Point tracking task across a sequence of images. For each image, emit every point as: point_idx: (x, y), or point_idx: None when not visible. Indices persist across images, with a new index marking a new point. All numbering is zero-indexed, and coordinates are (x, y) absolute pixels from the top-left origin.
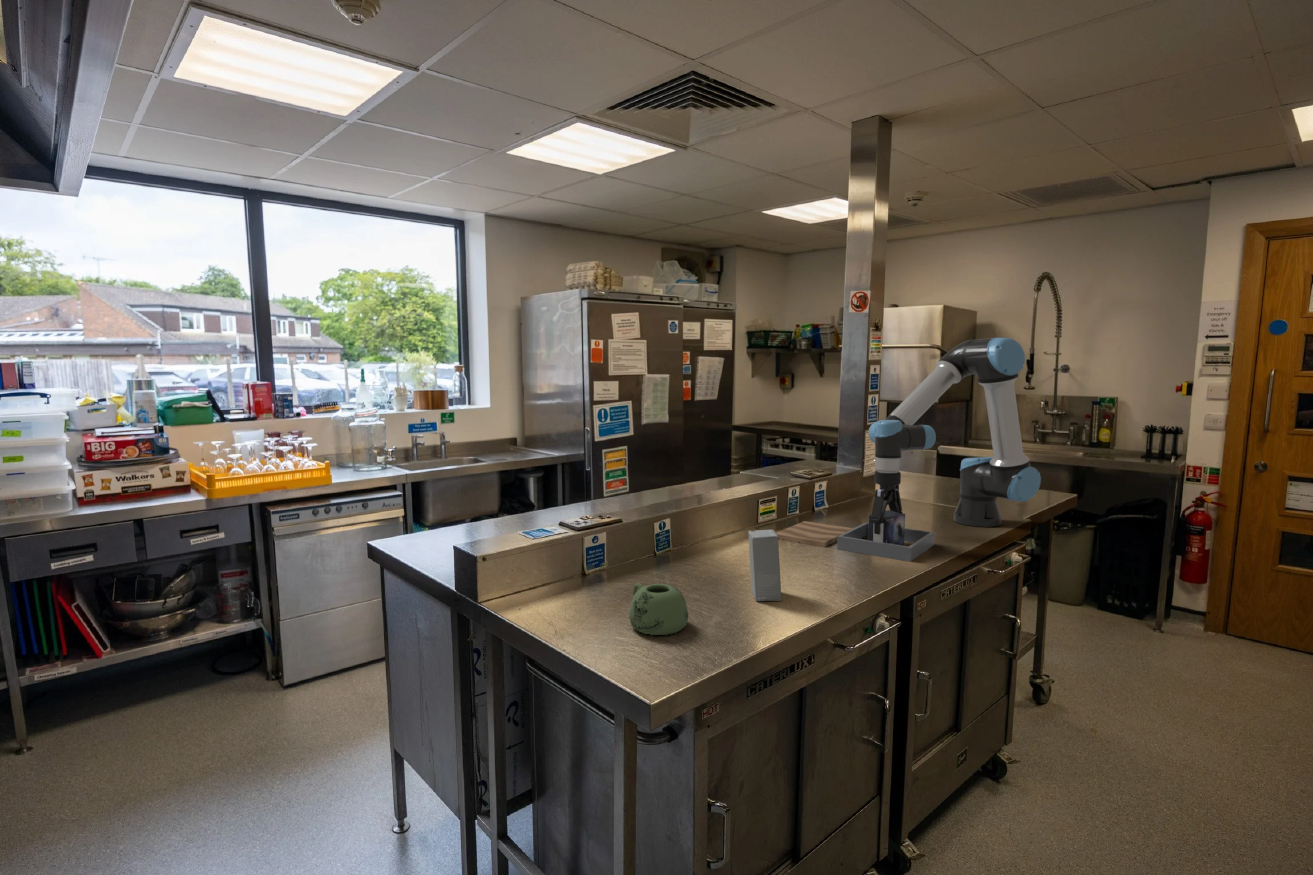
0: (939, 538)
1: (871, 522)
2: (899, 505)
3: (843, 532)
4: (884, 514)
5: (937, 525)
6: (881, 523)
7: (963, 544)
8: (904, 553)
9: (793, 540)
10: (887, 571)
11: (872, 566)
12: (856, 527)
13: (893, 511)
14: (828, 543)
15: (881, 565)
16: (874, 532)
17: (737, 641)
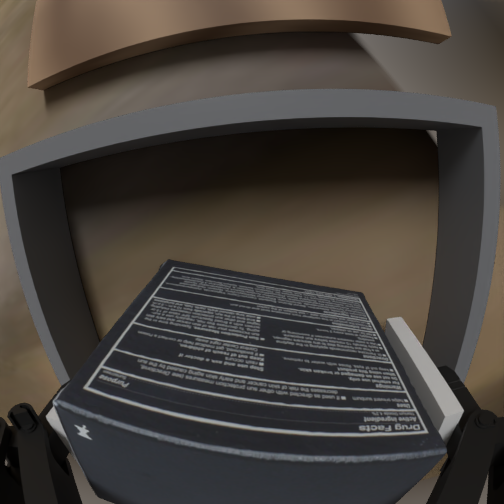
0: (496, 396)
1: (26, 408)
2: (487, 502)
3: (308, 12)
4: (191, 502)
5: None
6: (65, 458)
7: (443, 459)
8: None
9: None
10: (21, 400)
11: (11, 362)
12: (311, 97)
13: (398, 493)
14: (70, 74)
15: (35, 381)
16: (64, 386)
17: None
